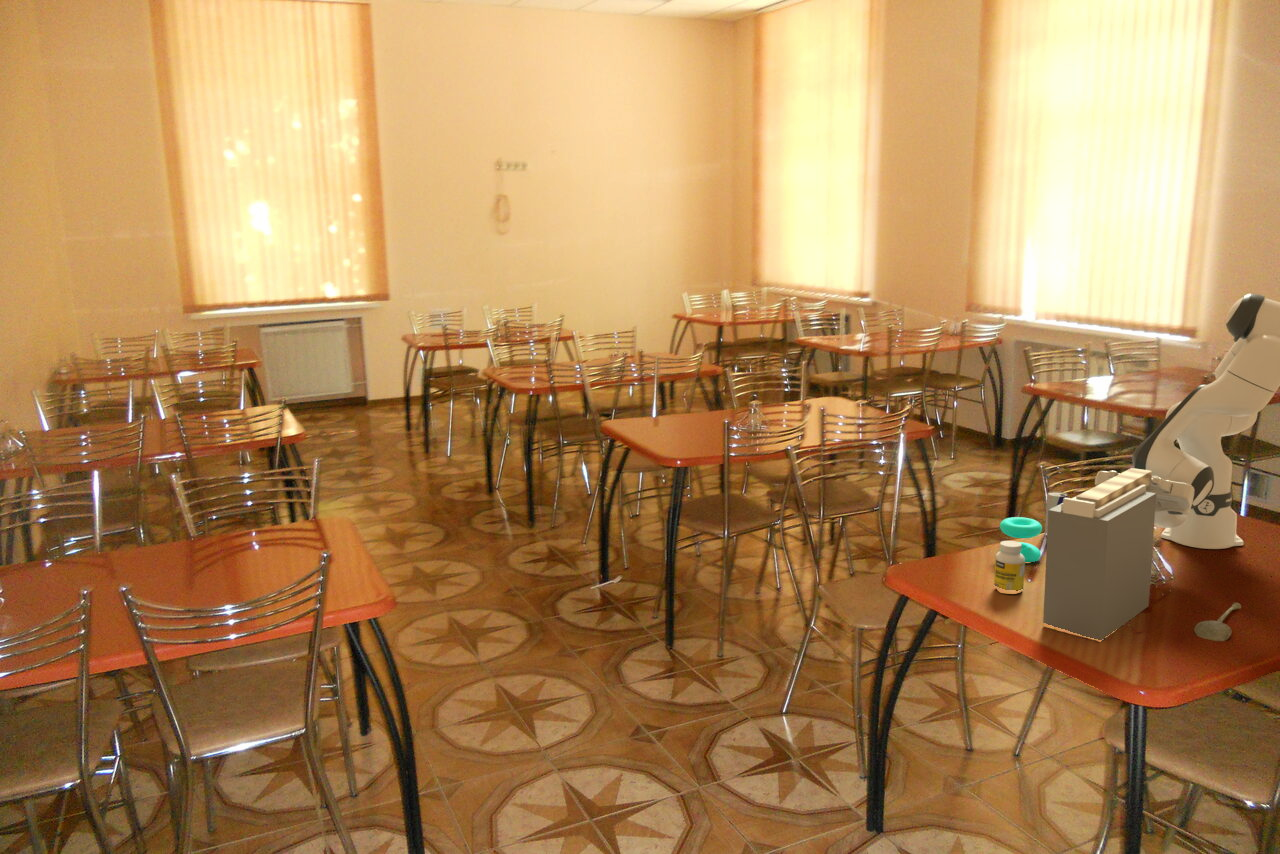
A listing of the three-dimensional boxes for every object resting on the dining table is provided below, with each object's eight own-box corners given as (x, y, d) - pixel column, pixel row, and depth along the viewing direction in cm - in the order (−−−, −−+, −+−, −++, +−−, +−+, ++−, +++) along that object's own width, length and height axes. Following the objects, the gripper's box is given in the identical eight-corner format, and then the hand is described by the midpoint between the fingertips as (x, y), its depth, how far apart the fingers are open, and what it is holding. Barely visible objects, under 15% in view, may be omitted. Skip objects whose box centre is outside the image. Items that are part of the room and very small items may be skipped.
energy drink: (1068, 539, 262) (1070, 496, 259) (1047, 539, 263) (1049, 496, 261) (1063, 533, 267) (1066, 491, 265) (1043, 533, 268) (1045, 491, 266)
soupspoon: (1188, 640, 201) (1224, 650, 196) (1190, 625, 200) (1226, 635, 195) (1220, 605, 216) (1254, 614, 211) (1222, 591, 215) (1256, 599, 210)
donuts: (1049, 521, 246) (1029, 529, 240) (1048, 558, 248) (1027, 568, 242) (1013, 513, 254) (992, 521, 248) (1011, 549, 256) (991, 559, 250)
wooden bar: (1130, 480, 221) (1131, 468, 221) (1151, 483, 218) (1151, 470, 218) (1075, 510, 201) (1076, 496, 200) (1097, 514, 198) (1098, 500, 197)
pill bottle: (987, 589, 229) (989, 542, 227) (1007, 584, 232) (1009, 537, 230) (1009, 597, 224) (1011, 549, 221) (1029, 592, 227) (1031, 544, 224)
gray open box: (1093, 593, 225) (1100, 471, 219) (1148, 606, 216) (1157, 479, 210) (1043, 627, 207) (1049, 496, 201) (1100, 642, 199) (1108, 506, 193)
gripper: (1109, 476, 234) (1089, 457, 225) (1202, 490, 219) (1186, 470, 210) (1102, 500, 233) (1083, 483, 224) (1195, 516, 218) (1179, 498, 209)
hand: (1133, 477), depth 217 cm, fingers open, 8 cm apart
